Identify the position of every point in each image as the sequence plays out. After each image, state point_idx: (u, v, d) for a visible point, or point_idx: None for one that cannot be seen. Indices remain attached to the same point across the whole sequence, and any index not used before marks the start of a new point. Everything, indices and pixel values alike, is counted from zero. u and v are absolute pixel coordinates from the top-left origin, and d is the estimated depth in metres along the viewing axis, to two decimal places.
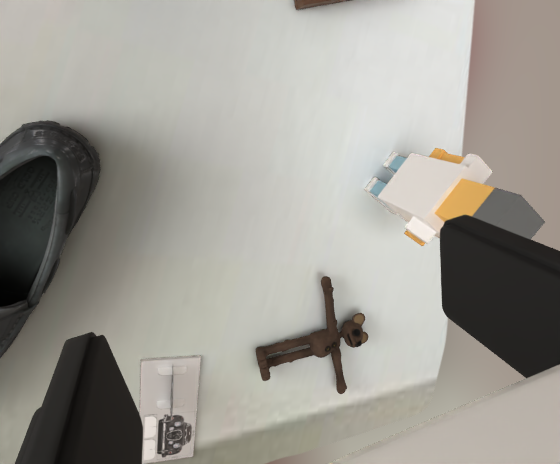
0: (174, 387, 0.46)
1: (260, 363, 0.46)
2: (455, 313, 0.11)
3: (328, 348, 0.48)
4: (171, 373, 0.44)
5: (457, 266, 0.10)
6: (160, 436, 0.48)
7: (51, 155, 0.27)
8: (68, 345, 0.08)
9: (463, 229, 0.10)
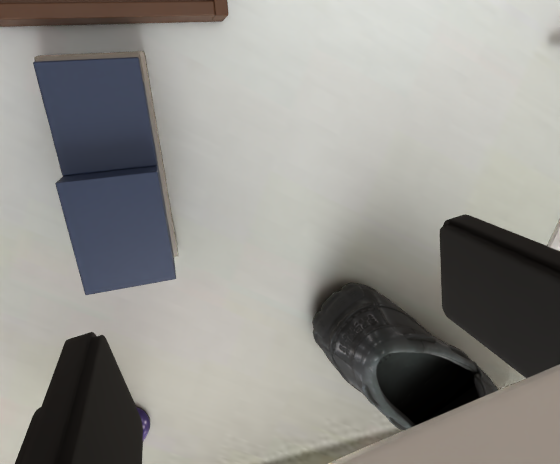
0: None
1: None
2: (454, 313, 0.11)
3: None
4: None
5: (457, 266, 0.10)
6: None
7: (380, 358, 0.27)
8: (68, 345, 0.08)
9: (463, 228, 0.10)
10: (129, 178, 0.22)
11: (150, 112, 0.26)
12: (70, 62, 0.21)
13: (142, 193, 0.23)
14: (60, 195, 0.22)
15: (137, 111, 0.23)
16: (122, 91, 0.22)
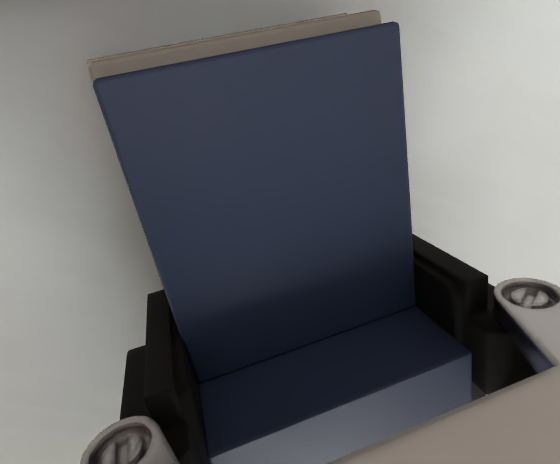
0: None
1: None
2: None
3: None
4: None
5: None
6: None
7: None
8: (151, 297, 0.10)
9: None
10: (404, 387, 0.08)
11: None
12: (209, 65, 0.06)
13: (430, 414, 0.08)
14: None
15: (386, 183, 0.08)
16: (352, 133, 0.07)
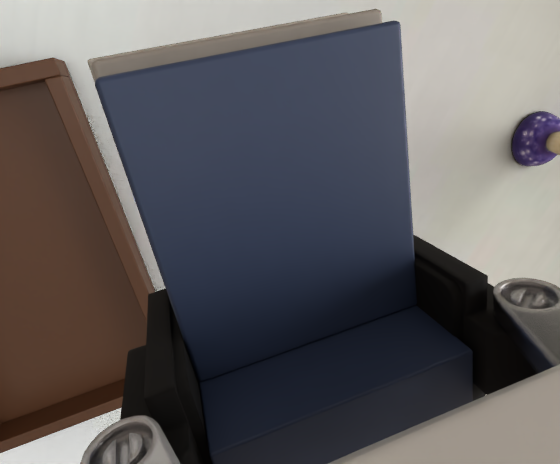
0: None
1: None
2: None
3: None
4: None
5: None
6: None
7: None
8: (152, 297, 0.10)
9: None
10: (405, 386, 0.08)
11: None
12: (210, 64, 0.06)
13: (431, 413, 0.08)
14: None
15: (387, 182, 0.08)
16: (353, 132, 0.07)
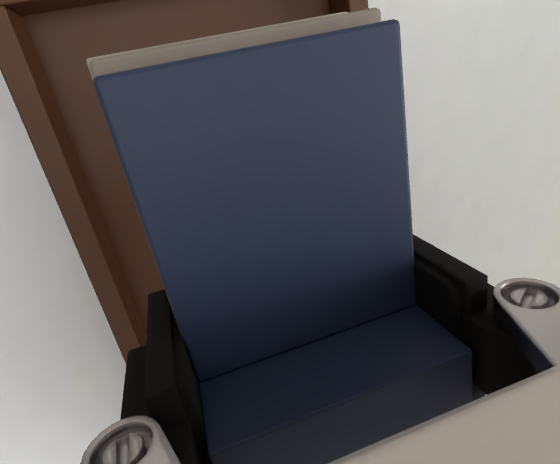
0: None
1: None
2: None
3: None
4: None
5: None
6: None
7: None
8: (152, 297, 0.10)
9: None
10: (404, 386, 0.08)
11: None
12: (209, 62, 0.06)
13: (431, 413, 0.08)
14: None
15: (386, 181, 0.08)
16: (352, 131, 0.07)
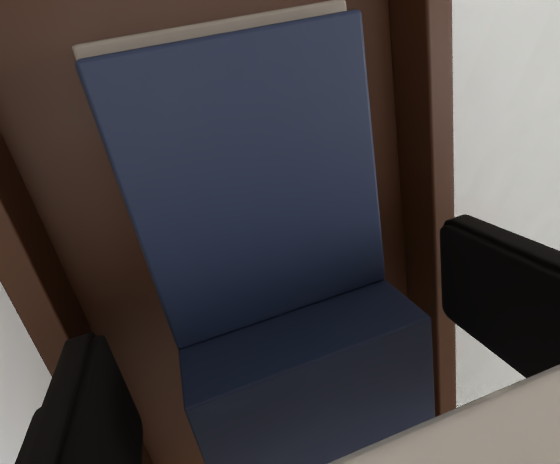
0: None
1: None
2: (454, 313, 0.11)
3: None
4: None
5: (457, 266, 0.10)
6: None
7: None
8: (68, 345, 0.08)
9: (463, 228, 0.10)
10: (368, 349, 0.08)
11: None
12: (183, 47, 0.07)
13: (394, 376, 0.09)
14: (199, 434, 0.08)
15: (352, 161, 0.09)
16: (319, 113, 0.08)
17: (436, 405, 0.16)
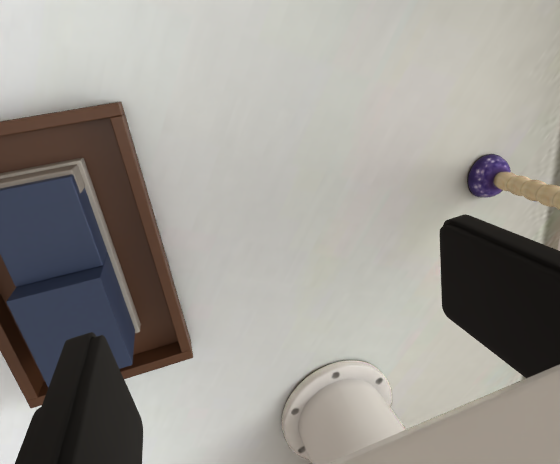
0: None
1: None
2: (455, 313, 0.11)
3: None
4: None
5: (457, 266, 0.10)
6: None
7: None
8: (68, 345, 0.08)
9: (463, 228, 0.10)
10: (74, 287, 0.24)
11: (94, 212, 0.27)
12: (7, 191, 0.23)
13: (89, 298, 0.25)
14: (12, 311, 0.24)
15: (77, 222, 0.25)
16: (60, 208, 0.24)
17: (175, 332, 0.32)
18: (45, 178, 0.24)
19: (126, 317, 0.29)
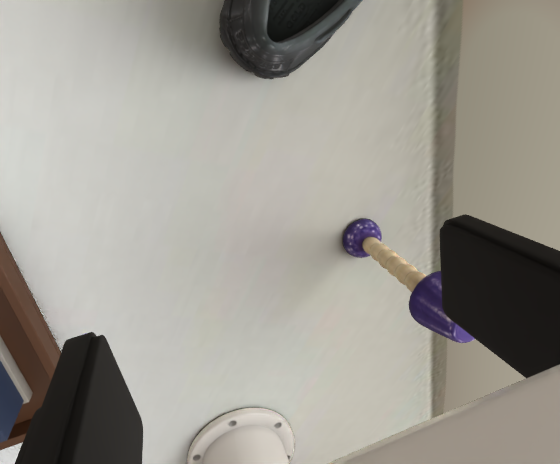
0: None
1: None
2: (455, 313, 0.11)
3: None
4: None
5: (457, 266, 0.10)
6: None
7: (270, 41, 0.24)
8: (68, 345, 0.08)
9: (463, 228, 0.10)
10: None
11: None
12: None
13: None
14: None
15: None
16: None
17: None
18: None
19: (8, 394, 0.33)
